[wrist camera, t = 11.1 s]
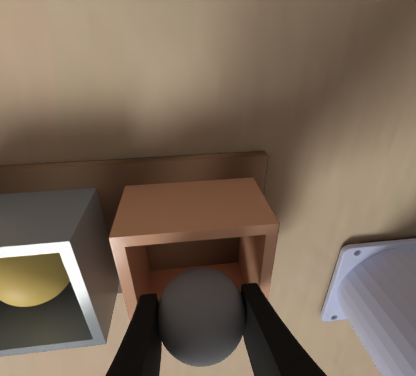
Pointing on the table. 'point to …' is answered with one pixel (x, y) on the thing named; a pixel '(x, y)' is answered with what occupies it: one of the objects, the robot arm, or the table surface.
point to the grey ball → (201, 316)
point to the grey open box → (74, 264)
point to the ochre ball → (31, 279)
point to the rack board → (141, 175)
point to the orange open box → (192, 231)
